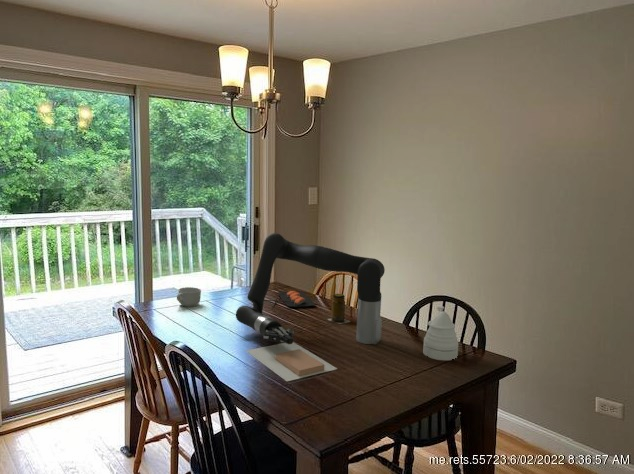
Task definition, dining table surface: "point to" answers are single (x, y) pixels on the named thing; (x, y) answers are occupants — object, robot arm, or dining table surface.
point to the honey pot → (441, 338)
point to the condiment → (338, 309)
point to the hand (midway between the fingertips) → (291, 341)
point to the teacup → (189, 296)
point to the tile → (299, 362)
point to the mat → (268, 359)
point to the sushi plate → (294, 299)
